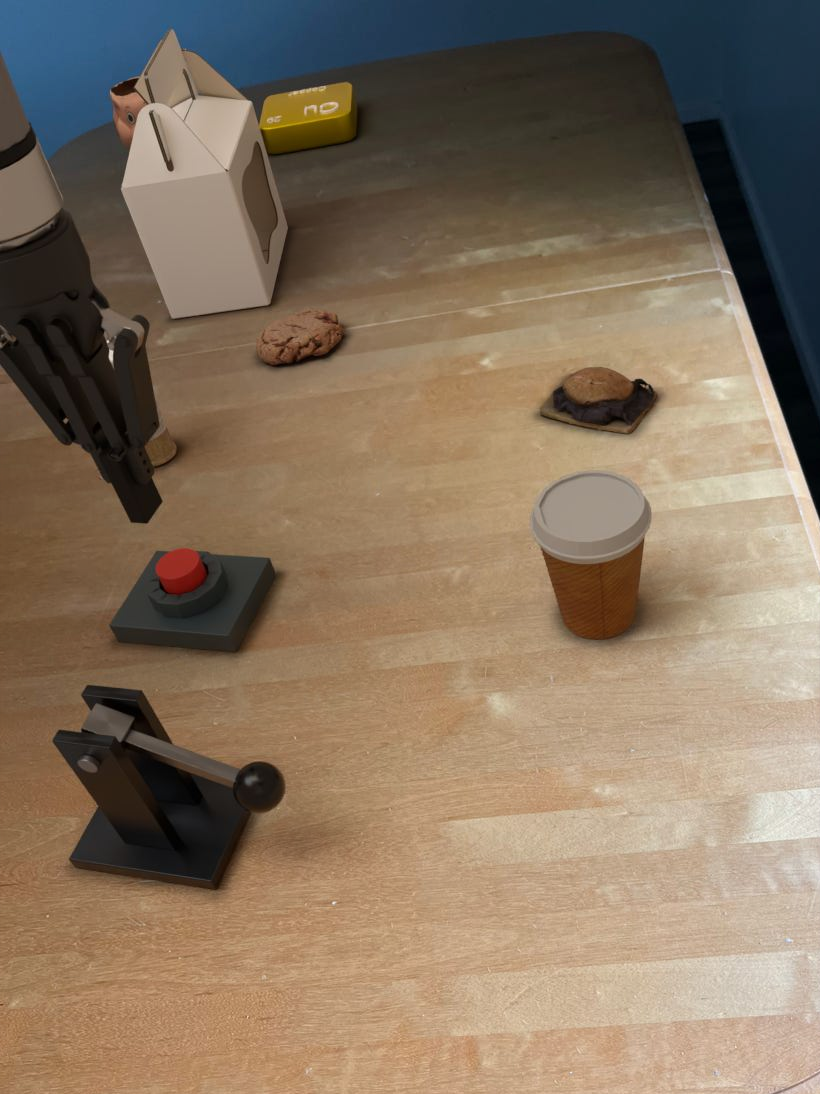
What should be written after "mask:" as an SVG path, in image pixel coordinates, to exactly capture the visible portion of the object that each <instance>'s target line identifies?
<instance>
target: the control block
mask: <svg viewBox="0 0 820 1094" xmlns="http://www.w3.org/2000/svg"><path fill="white" fill-rule="evenodd" d="M171 551H172V550H171ZM171 551H169V550H156V551H155V552H154V554H153V555H152V557H151V559H150V560H149V562H148V563H147V565H146V566H145V568H144V569H143V571H142V572H141V574H140V576H139V577H138V579H137V580H136V582H135V584H134V586H132V588H131V590H130V592H129V593H128V594H127V596H126V598H125V599H124V601H123V603H122V604H121V606H120V607H119V609H118V611H116V614H115V615H114V617H113V618H112V620H111V621H110V623H108V627H109V628H110V630H111V632H112V633H113V635H114V638H115V639H116V640H117V642H118V643H119V642H120V643H130V644H141V645H151V646H152V645H153V646H163V647H175V648H184V649H197V650H206V651H207V650H208V651H219V652H230V653H236V652H237V651H238V649H239V647H240V645H241V643H242V641H243V639H244V637H245V635H246V634H247V632H248V630H249V629H250V626H251V624H252V622H253V620H254V619H255V617H256V615H257V612H258V611H259V608H260V607H261V605H262V603H263V601H264V599H265V597H266V595H267V593H268V591H269V589H270V587H271V586H272V583H273V581H274V580H275V578H276V576H277V573H276V570H275V567H274V565H273V562H272V560H271V557H263V556H247V555H233V554H231V555H230V554H216V553H211V552H210V551H206V550H205V551H204V550H195V551H196V552H197V553H198V554H199V556H200V559H201V561H202V563H203V565H204V567H205V570H206V572H207V576H206V580H205V581H204V583H203V584H202V585H200V586H199V587H198V588H196V589H195V590H193V591H191V592H188V593H184V594H181V595H174V594H170V593H168V592H167V591H166V590H165V589H164V587H163V585H162V583H161V581H160V579H159V577H158V575H157V573H156V565H157V563H158V561H159V560H160V559H161V558H162V557H163V556H164V555H165V554H167V553H169V552H171Z"/></svg>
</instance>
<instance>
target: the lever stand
mask: <svg viewBox="0 0 820 1094" xmlns="http://www.w3.org/2000/svg"><path fill="white" fill-rule="evenodd" d="M80 696H81V698H82V699H83V701H84V703H85V704H86V706H87V708H88V709H89V710H90V712H91V711H92V709H93V707H94V706H95V704H96V703H97V704H100V705H103V706H106V707H108V708H111V709H114V710H116V711H119V712H122V713H125V714H127V715H130V716H133V717H135V721H134V730H135V731H138V732H140V733H143V734H146V735H149V736H151V737H154V738H157V739H159V740H162V741H165V742H168V743H170V744H173V745H174V743H173V741H172V739H171V738H170V736H169V734H168V733H167V731H166V729H165V727H164V726H163V724H162V722H161V720H160V719H159V717H158V716H157V714H156V712H155V710H154V708H153V706H152V705H151V703H150V701H149V700H148V698H147V696H146V695H145V692H144V691H143V690H142V689H134V688H132V689H131V688H124V687H113V686H105V685H95V684H86V685H85V687H84V688H83V690H82V692H81V694H80ZM51 743H52V744H53V745H54V746H55V748H56V749H57V750H58V752H59V753H60V755H61V756H62V758H63V760H65V761H66V764H67V765H69V767H70V768H71V770H72V771H73V773H74V774H75V775H76V777H77V778H78V780H79V781H80V783H81V784H82V786H83V787H84V788H85V790H86V791H87V792H88V794H89V796H91V798H92V799H93V801H94V803H95V804H96V805H97V808H96V809H95V812H94V813H93V815H92V817H91V819H90V820H89V822H88V824H87V826H86V827H85V829H84V831H83V833H82V834H81V837H80V838H79V840H78V842H77V843H76V845H75V847H74V849H73V851H72V853H71V854H70V856H69V858H68V860H69V862H70V863H71V865H72V866H73V867H74V868H77V869H83V870H89V871H95V872H96V871H97V872H103V873H108V874H116V875H122V876H128V877H134V878H140V879H146V880H154V881H159V882H166V883H171V884H177V885H178V884H179V885H185V886H192V887H197V888H198V887H199V888H205V889H210V890H217V889H218V887H219V885H220V883H221V880H222V878H223V876H224V873H225V871H226V869H227V867H228V865H229V863H230V860H231V858H232V855H233V853H234V851H235V849H236V846H237V844H238V842H239V840H240V838H241V835H242V833H243V832H244V829H245V828H246V827H245V826H246V825H247V822H248V820H249V818H250V815H251V813H252V812H249V811H246V810H245V809H243V808H242V807H241V806H240V805H239V804H238V803H237V801H236V799H235V797H234V794H233V788H231V787H228V786H225V785H223V784H220V783H217V782H214V781H212V780H209V779H206V778H204V777H201V776H198V775H195V774H193V773H190V772H187V771H185V770H182V769H179V768H176V767H174V766H171V765H168V764H165V763H163V762H160V761H157V760H155V759H152V758H149V757H146V756H144V755H141V754H138V753H136V752H133V751H130V750H127V749H126V750H124V749H123V747H122V746H121V744H120V743H119V741H118V739H117V738H116V737H115V736H109V735H100V734H92V733H83V732H81V731H74V730H67V729H66V730H65V729H58V730H57V732H56V733H55V736H53V738H52V740H51Z"/></svg>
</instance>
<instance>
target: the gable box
mask: <svg viewBox="0 0 820 1094" xmlns="http://www.w3.org/2000/svg"><path fill="white" fill-rule="evenodd" d="M139 76H140V77H139ZM139 76H138V77H139V79H138V81H137V83H136V85H135V86H134V88H133V89H134V90H135V91H136V92H137V93H138V94H139V96H140V97H141V98H142V99H143V100H144V101H145V103H146V104H147V105H146V106H145V107H143V108H142V109H141V110H140V112H139V114H138V117H137V121H136V126H135V130H134V135H133V139H132V144H131V148H130V150H129V153H128V157H127V162H126V167H125V170H124V175H123V180H122V183H121V185H120V190H121V193H122V197H123V199H124V201H125V203H126V206H127V208H128V211H129V214H130V216H131V219H132V221H133V224H134V226H135V229H136V232H137V234H138V236H139V240H140V242H141V244H142V247H143V249H144V252H145V254H146V257H147V259H148V262H149V264H150V267H151V269H152V272H153V275H154V277H155V280H156V282H157V284H158V288H159V289H160V292H161V295H162V297H163V299H164V303H165V306H166V308H167V310H168V313H169V315H170V318H171V319H173V320H178V319H183V318H190V317H198V316H205V315H212V314H218V313H224V312H233V311H238V310H239V311H240V310H247V309H253V308H259V307H267V306H270V305H271V303H272V298H273V294H274V290H275V286H276V281H277V275H278V273H279V268H280V263H281V260H282V254H283V250H284V247H285V243H286V238H287V233H288V229H289V226H288V224H287V220H286V216H285V213H284V209H283V205H282V202H281V198H280V195H279V191H278V188H277V184H276V181H275V177H274V173H273V171H272V166H271V162H270V160H269V156H268V153H267V152H266V149H265V145H264V142H263V138H262V135H261V131H260V128H259V124H260V123H259V121H258V118H257V114H256V110H255V107H254V103H253V102H252V101H251V100H250V99H249V98H248V97H246V96H245V94H243V93H242V92H241V91H240V90H239V89H238V88H236V87H235V86H234V85H233V84H232V83H231V82H230V81H229V80H228V79H226V78H225V76H223V75H222V74H221V73H220V72H219V71H218V70H217V69H215V68H214V66H212V64H210V63H209V62H208V61H207V60H205V59H204V57H202V56H201V55H200V54H199V53H198V52H195V51H192V50H188V49H187V48H186V47H183V48H181V45H180V43H179V40H178V36H177V35H176V33H175V30H174V29H172V28H171V29H167V31H166V33H165V34H164V36H163V38H162V39H160V41H159V42H158V44H157V46H156V47H155V49H154V51H153V52H152V55H151V56H150V57H149V59H148V62H147V63H146V65H145V67H144V68H143V70H142V72H141V74H140V75H139ZM199 94H200V95H199Z"/></svg>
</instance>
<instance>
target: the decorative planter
mask: <svg viewBox="0 0 820 1094" xmlns="http://www.w3.org/2000/svg"><path fill="white" fill-rule="evenodd" d="M140 76H141V75H139V76H135V77H131V78H128V79H126V80H123V81H121V82H119V83H117V84H115V85H114V86H112V87H110V90H109V98H110V101H111V104H112V106H113V110H112V120H113V124H114V129H115V130H116V134H117V136H118V138H119V139H120V141H121V143H122V144H123V145H124V147H126V148H127V149H128V150H129V151H130V148H131V144H132V139H133V135H134V130H135V126H136V121H137V117H138V114H139V112H140V110H141V109H142V108H143V107H145V106H146V105H147V104H146V103H145V101H144V100H143V99H142V98H141V97H140V96H139V94H138V93H137V92H136V91H135V90H134V89H133V88H134V86H135V85H136V83H137V81H138V79H139V77H140Z"/></svg>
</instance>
